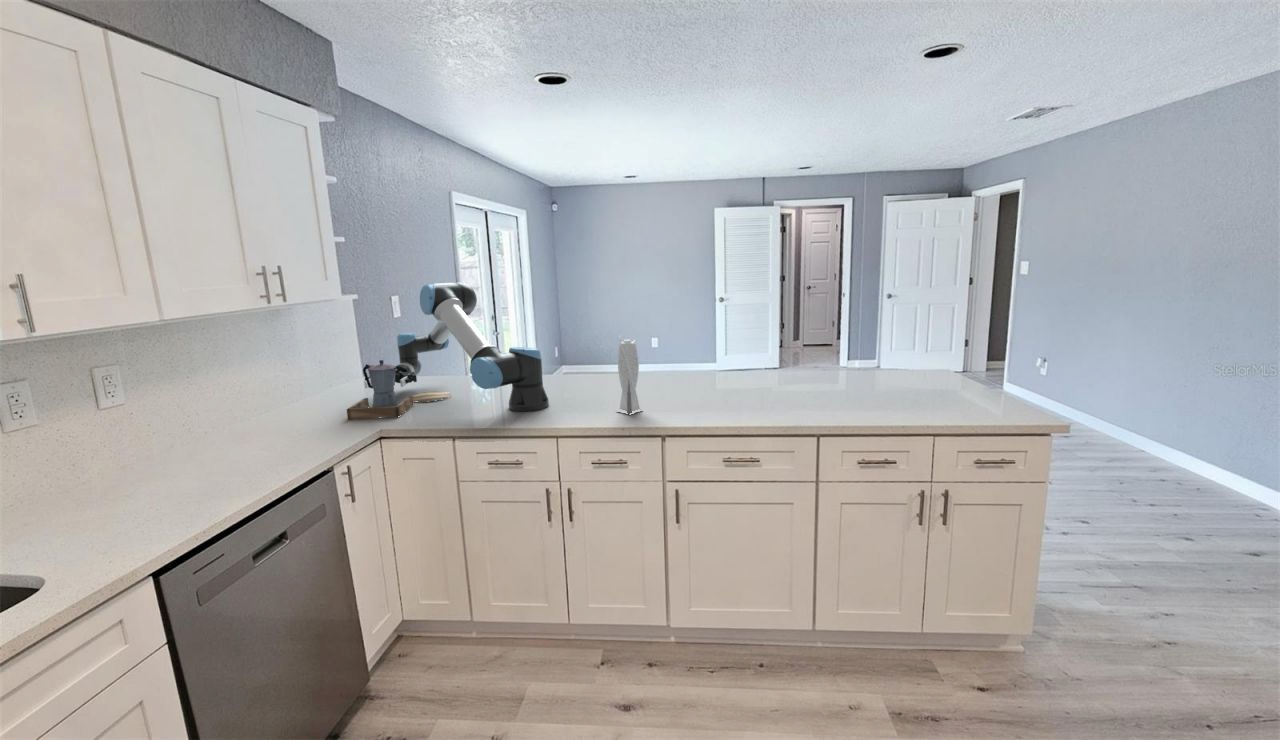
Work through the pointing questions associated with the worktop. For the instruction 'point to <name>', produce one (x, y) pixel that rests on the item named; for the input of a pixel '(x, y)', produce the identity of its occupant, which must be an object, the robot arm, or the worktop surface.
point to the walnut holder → (377, 409)
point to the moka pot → (382, 384)
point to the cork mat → (431, 396)
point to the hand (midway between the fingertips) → (383, 384)
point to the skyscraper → (628, 375)
